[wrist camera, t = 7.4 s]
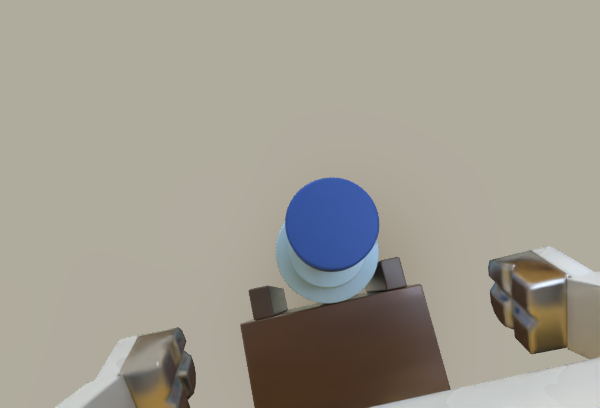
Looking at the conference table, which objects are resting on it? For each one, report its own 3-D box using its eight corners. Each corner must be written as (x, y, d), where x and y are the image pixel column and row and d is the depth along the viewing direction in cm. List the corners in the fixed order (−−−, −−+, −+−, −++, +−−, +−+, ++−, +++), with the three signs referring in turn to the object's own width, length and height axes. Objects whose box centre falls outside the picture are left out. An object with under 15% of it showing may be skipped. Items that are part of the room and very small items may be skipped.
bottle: (427, 304, 11) (407, 137, 13) (250, 314, 12) (245, 148, 13) (363, 298, 28) (357, 226, 29) (290, 302, 28) (287, 230, 29)
